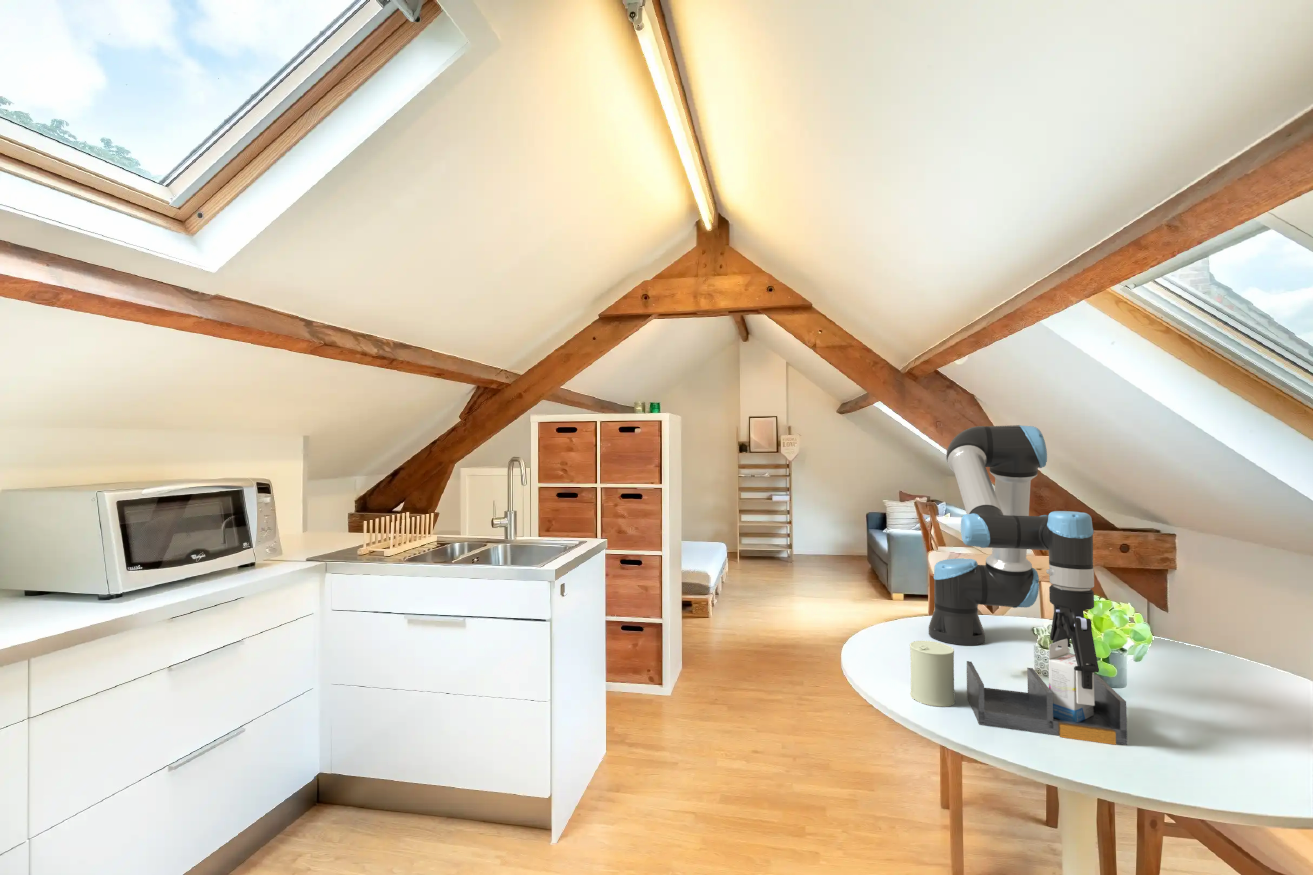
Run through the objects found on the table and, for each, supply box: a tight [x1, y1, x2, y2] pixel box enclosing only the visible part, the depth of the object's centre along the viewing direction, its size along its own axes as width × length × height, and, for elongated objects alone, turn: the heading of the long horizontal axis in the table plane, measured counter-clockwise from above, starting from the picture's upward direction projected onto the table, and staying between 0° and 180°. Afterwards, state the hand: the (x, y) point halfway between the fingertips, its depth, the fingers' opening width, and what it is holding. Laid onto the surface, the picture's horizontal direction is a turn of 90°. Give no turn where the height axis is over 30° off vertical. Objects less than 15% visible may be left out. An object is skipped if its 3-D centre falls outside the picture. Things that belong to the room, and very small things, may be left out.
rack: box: [966, 660, 1128, 746], centre depth 120 cm, size 15×25×8 cm, turn 71°
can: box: [909, 640, 956, 708], centre depth 131 cm, size 9×9×12 cm
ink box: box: [1048, 638, 1094, 722], centre depth 120 cm, size 8×5×15 cm, turn 122°
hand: (1073, 690), depth 119 cm, fingers open, 13 cm apart
